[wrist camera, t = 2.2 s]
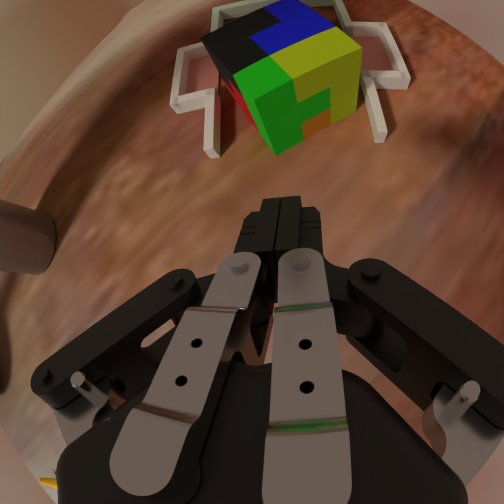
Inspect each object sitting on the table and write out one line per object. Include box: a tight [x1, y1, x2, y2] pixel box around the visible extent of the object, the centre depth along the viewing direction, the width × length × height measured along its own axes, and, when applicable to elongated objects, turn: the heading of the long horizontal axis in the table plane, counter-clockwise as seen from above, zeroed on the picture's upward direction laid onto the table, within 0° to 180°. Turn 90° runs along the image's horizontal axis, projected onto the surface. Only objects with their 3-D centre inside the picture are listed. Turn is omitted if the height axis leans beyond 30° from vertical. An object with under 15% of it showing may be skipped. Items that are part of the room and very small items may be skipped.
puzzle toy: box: [200, 0, 362, 156], centre depth 25 cm, size 10×10×10 cm
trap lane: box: [170, 0, 411, 159], centre depth 29 cm, size 25×27×2 cm
